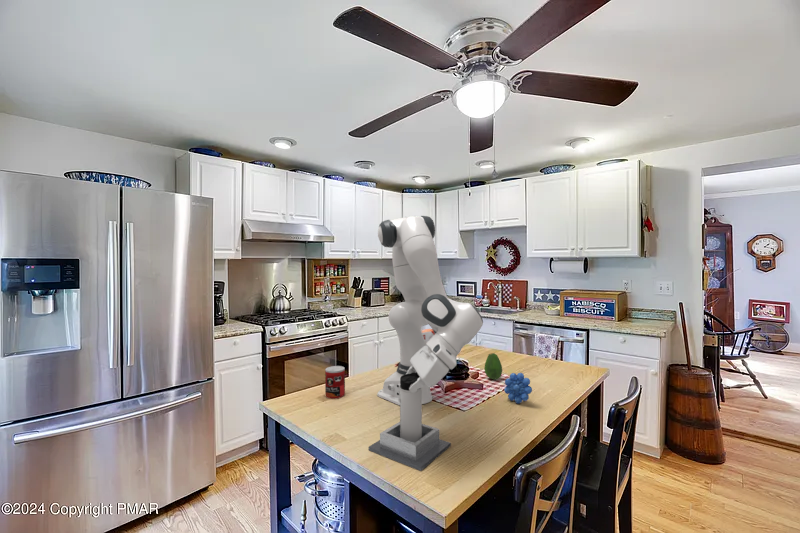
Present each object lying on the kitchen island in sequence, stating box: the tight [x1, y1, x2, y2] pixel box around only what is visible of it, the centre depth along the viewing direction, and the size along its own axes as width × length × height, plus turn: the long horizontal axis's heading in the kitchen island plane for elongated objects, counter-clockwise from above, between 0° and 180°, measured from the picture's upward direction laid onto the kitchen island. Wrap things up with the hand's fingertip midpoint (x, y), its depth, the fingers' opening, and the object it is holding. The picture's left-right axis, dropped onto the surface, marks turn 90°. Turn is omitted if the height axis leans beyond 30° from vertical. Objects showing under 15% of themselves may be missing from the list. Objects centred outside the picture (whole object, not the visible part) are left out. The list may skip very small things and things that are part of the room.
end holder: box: [368, 421, 452, 472], centre depth 107 cm, size 18×16×5 cm
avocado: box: [484, 353, 503, 381], centre depth 170 cm, size 8×8×12 cm
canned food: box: [324, 365, 346, 400], centre depth 150 cm, size 8×8×11 cm
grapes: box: [503, 372, 533, 405], centre depth 141 cm, size 12×7×12 cm, turn 41°
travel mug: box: [399, 372, 423, 443], centre depth 108 cm, size 6×7×20 cm
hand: (407, 385), depth 107 cm, fingers open, 8 cm apart
